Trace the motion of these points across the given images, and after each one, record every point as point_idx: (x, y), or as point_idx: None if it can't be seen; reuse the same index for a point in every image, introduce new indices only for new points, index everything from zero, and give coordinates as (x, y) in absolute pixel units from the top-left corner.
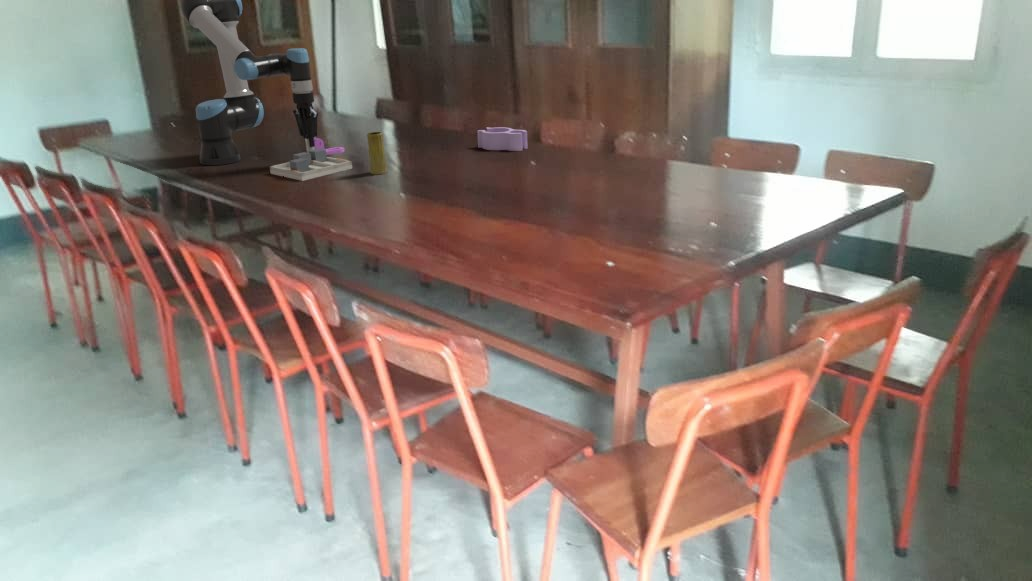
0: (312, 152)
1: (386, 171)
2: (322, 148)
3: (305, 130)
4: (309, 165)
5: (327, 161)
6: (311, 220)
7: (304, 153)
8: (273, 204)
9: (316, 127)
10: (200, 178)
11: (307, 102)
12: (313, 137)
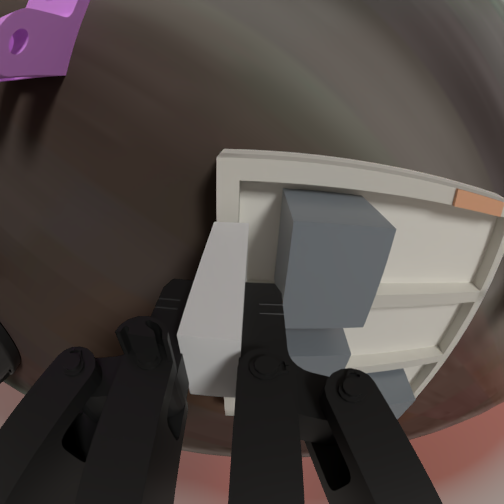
0: (330, 324)
1: None
2: (50, 27)
3: (171, 475)
4: None
5: (367, 200)
6: (487, 410)
7: (313, 371)
8: (425, 431)
9: (427, 496)
10: None
11: None
12: (303, 377)
